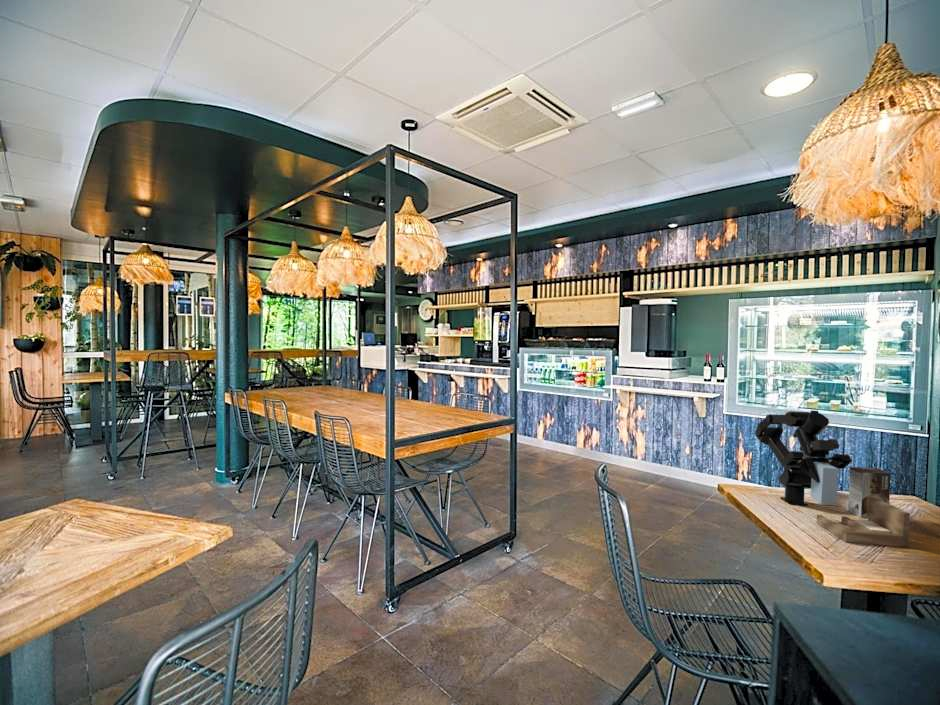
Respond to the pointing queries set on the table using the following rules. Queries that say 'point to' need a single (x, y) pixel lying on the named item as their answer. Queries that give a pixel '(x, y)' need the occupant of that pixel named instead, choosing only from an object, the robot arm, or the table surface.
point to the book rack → (872, 526)
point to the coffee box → (867, 489)
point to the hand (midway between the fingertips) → (826, 482)
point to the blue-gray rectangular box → (825, 484)
